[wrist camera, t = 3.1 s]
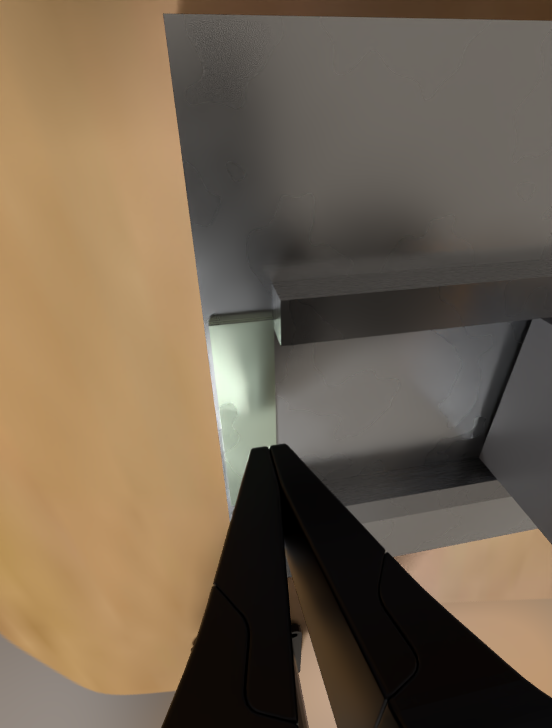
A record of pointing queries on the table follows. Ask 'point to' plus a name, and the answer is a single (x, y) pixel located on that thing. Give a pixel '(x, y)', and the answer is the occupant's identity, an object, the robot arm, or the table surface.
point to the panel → (369, 249)
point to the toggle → (526, 429)
